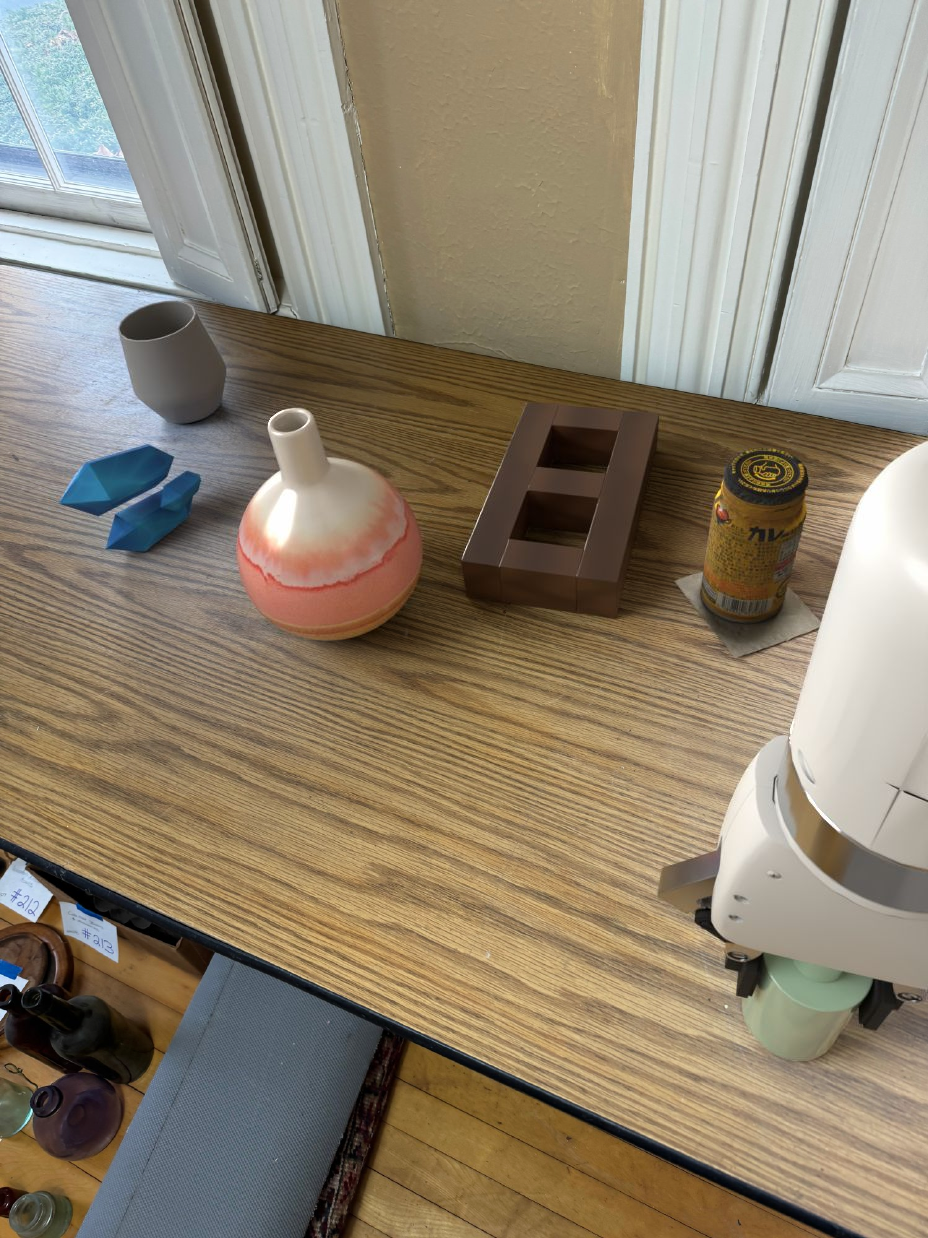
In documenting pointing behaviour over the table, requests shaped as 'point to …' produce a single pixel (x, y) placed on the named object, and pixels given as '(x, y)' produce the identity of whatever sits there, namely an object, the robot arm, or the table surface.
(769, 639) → the condiment
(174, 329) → the cup
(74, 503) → the blue crystals
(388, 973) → the table surface
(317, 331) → the table surface
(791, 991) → the bottle
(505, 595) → the peg block
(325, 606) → the vase
